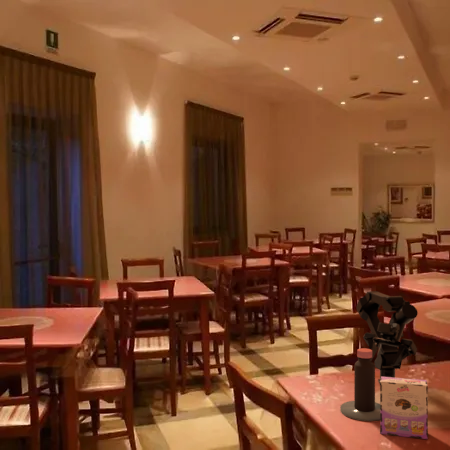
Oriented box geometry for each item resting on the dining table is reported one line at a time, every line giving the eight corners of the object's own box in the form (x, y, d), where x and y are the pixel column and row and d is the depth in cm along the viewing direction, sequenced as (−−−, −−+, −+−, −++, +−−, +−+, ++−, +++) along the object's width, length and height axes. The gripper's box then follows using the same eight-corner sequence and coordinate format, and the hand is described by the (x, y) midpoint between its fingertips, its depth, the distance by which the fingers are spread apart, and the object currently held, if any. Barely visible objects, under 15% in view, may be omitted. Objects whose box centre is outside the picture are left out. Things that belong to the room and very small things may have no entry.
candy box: (427, 432, 164) (427, 379, 164) (428, 440, 159) (428, 385, 158) (380, 426, 169) (380, 375, 168) (379, 434, 163) (379, 380, 163)
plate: (339, 402, 190) (339, 399, 190) (385, 404, 188) (385, 401, 188) (341, 419, 174) (341, 416, 174) (392, 422, 172) (392, 419, 172)
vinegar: (363, 413, 177) (363, 353, 176) (350, 407, 183) (350, 349, 182) (379, 410, 180) (379, 351, 179) (365, 403, 186) (365, 346, 185)
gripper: (365, 310, 201) (350, 345, 193) (413, 317, 188) (399, 355, 181) (375, 328, 207) (361, 362, 199) (422, 335, 194) (409, 372, 187)
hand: (381, 362), depth 191 cm, fingers open, 9 cm apart
